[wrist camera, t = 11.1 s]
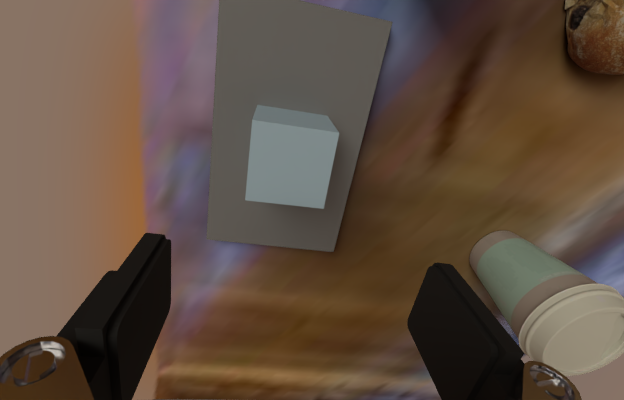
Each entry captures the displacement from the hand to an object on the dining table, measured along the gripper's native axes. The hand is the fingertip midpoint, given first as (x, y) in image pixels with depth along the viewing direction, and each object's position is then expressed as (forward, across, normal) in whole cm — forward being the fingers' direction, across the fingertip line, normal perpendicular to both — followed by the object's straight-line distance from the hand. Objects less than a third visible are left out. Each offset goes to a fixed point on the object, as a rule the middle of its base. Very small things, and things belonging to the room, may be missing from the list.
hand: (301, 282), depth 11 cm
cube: (+16, 0, -1) cm, 16 cm away
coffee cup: (+18, -24, +8) cm, 31 cm away
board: (+18, 0, -1) cm, 18 cm away
